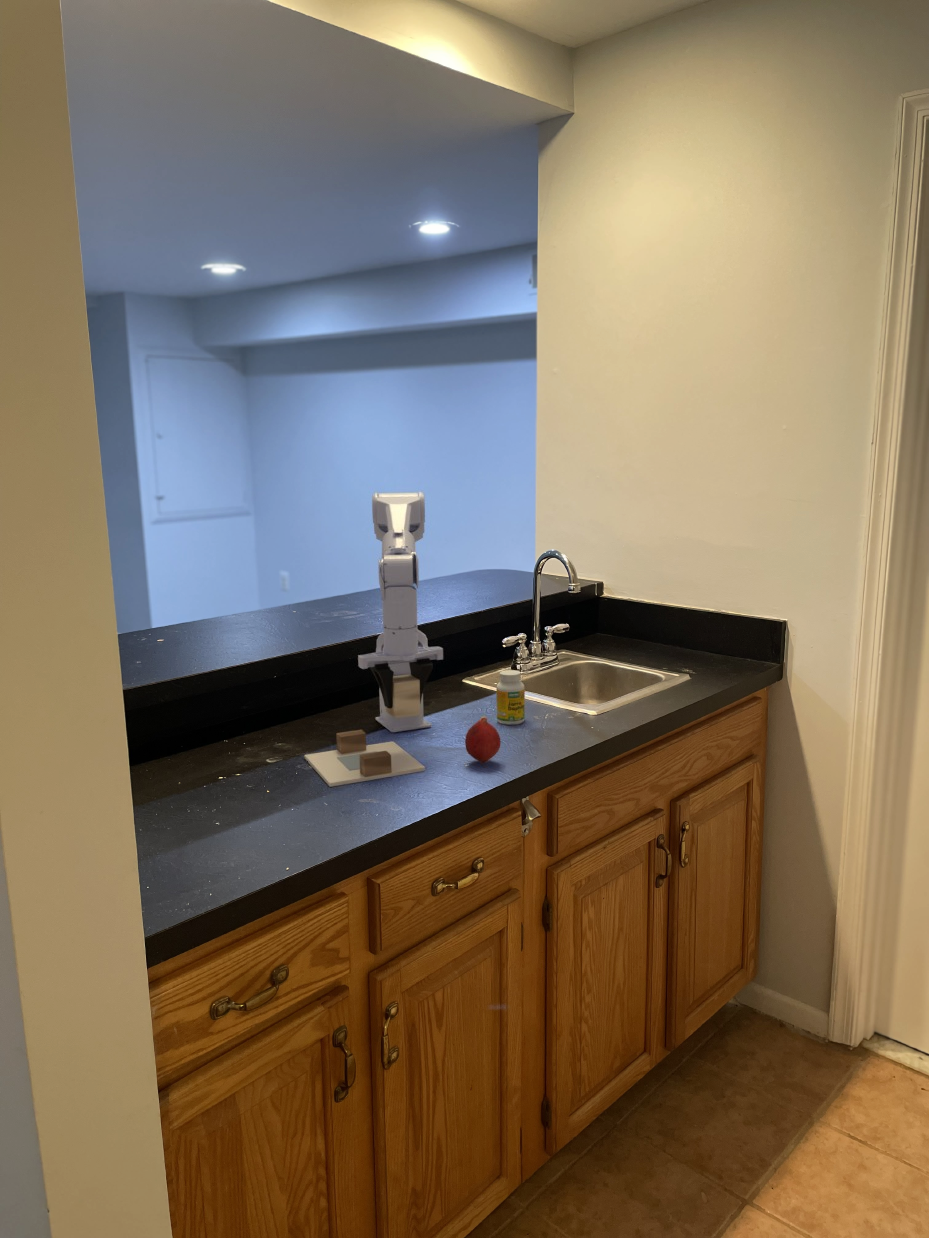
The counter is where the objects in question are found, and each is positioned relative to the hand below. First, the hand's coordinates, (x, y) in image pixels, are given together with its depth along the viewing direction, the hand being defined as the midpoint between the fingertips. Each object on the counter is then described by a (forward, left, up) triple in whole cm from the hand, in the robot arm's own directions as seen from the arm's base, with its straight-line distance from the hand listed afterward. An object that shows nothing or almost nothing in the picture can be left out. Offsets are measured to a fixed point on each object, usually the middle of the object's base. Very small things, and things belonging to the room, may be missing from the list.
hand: (402, 704), depth 159 cm
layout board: (+1, -8, -9) cm, 12 cm away
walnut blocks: (+1, -8, -9) cm, 12 cm away
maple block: (0, 0, -1) cm, 1 cm away
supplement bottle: (-9, +25, -9) cm, 28 cm away
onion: (+10, +10, -9) cm, 17 cm away
